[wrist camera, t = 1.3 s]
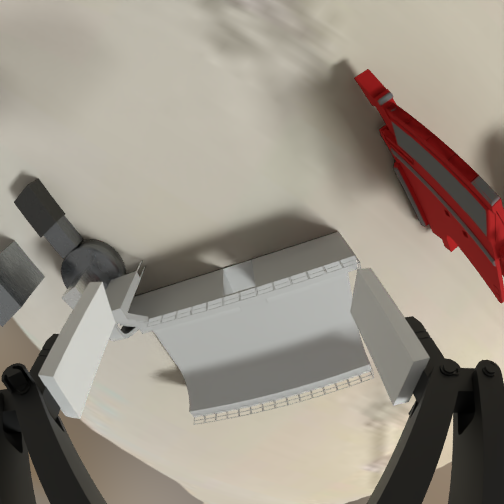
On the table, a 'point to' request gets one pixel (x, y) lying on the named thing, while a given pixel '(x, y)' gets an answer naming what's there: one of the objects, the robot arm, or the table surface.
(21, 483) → the robot arm
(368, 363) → the skate ramp
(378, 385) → the table surface
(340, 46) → the table surface
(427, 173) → the tool
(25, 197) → the ratchet
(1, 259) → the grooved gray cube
